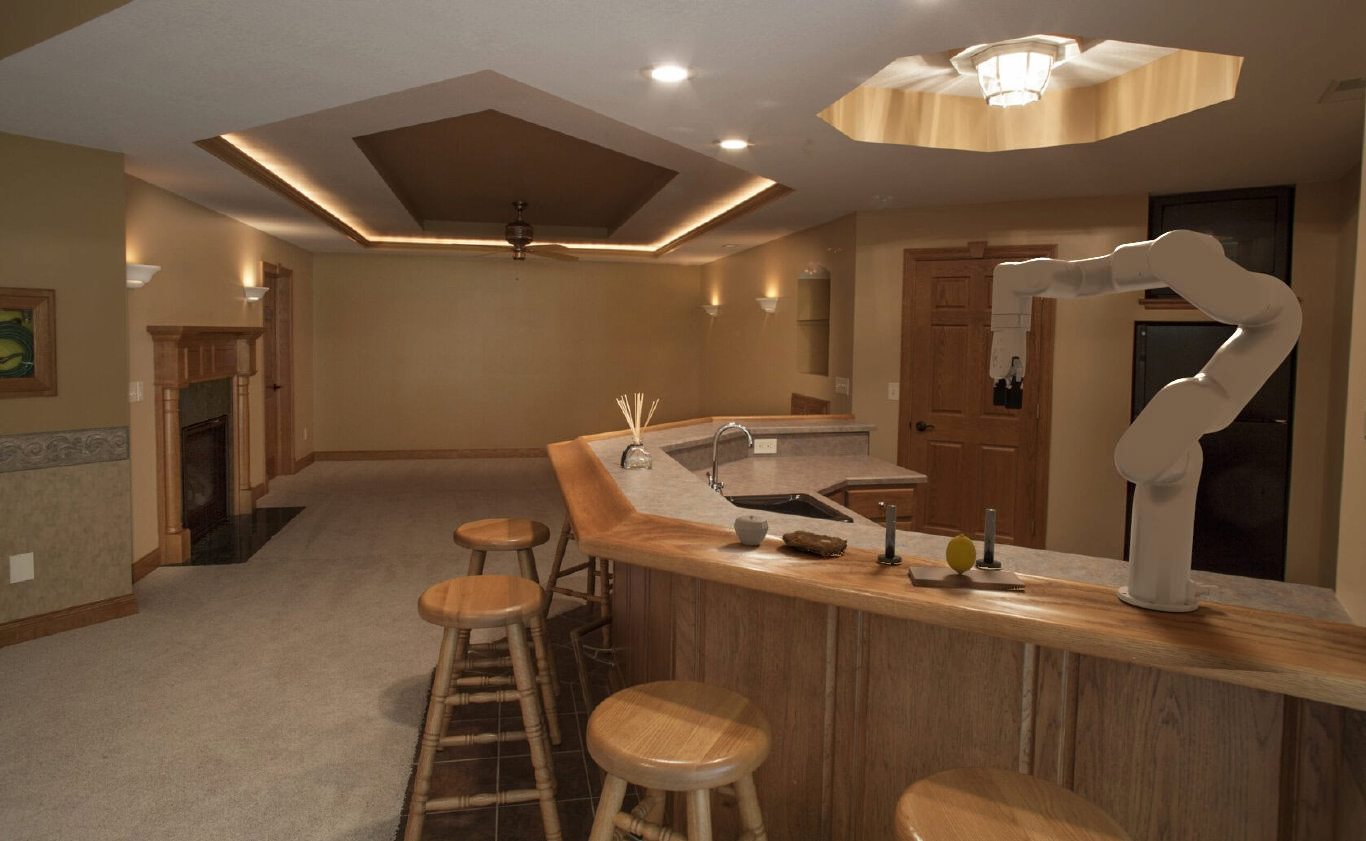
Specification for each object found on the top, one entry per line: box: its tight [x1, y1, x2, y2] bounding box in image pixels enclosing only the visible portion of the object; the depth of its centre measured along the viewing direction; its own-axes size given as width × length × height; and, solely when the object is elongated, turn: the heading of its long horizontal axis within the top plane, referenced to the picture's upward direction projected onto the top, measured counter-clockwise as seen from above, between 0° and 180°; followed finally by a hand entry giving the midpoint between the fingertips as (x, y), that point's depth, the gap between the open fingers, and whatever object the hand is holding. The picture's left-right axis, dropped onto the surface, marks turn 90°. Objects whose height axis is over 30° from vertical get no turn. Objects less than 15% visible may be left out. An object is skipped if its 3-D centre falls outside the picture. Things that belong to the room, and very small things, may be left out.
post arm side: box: [975, 508, 1002, 569], centre depth 167 cm, size 5×5×12 cm
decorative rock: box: [781, 530, 848, 558], centre depth 180 cm, size 11×4×15 cm
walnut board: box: [908, 565, 1026, 590], centre depth 157 cm, size 20×9×1 cm, turn 82°
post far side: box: [877, 504, 903, 564], centre depth 170 cm, size 5×5×12 cm
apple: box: [733, 514, 769, 546], centre depth 185 cm, size 8×8×7 cm
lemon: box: [945, 533, 977, 575], centre depth 157 cm, size 6×6×8 cm
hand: (1006, 407), depth 167 cm, fingers open, 9 cm apart
